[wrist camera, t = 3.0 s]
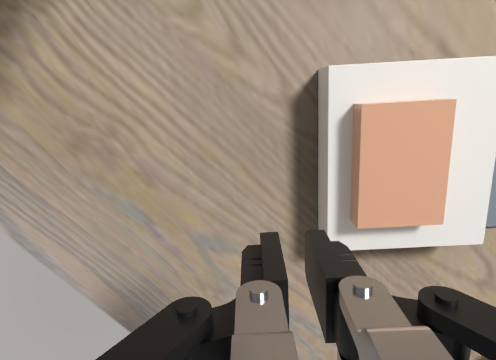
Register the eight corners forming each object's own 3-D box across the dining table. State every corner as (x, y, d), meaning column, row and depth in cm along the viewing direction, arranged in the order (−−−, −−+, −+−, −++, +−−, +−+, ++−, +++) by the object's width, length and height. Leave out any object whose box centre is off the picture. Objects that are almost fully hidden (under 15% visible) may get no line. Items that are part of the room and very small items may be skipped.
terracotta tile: (353, 103, 26) (361, 104, 24) (441, 98, 26) (456, 99, 24) (350, 219, 29) (357, 228, 27) (430, 215, 29) (443, 224, 27)
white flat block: (318, 69, 29) (328, 65, 25) (475, 60, 29) (510, 55, 25) (318, 233, 33) (327, 251, 29) (455, 226, 33) (483, 243, 29)
